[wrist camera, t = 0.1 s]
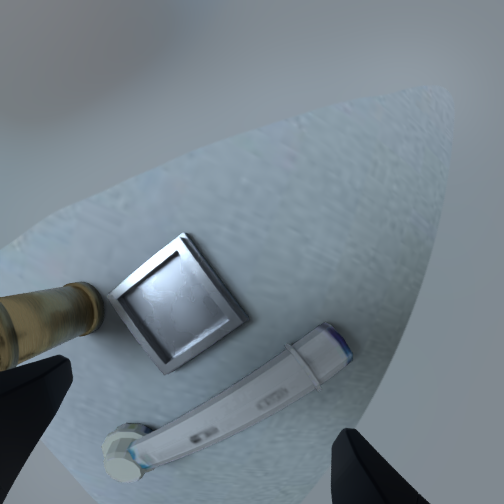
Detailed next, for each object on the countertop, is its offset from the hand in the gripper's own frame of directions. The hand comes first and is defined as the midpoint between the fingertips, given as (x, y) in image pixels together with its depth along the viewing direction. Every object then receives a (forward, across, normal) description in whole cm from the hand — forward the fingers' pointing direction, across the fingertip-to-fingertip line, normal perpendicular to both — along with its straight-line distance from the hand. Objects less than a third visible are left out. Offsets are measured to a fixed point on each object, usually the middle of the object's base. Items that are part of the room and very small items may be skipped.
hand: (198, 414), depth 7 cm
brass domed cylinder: (+14, +14, +7) cm, 21 cm away
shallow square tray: (+15, +5, +4) cm, 16 cm away
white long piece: (+13, 0, +13) cm, 18 cm away
